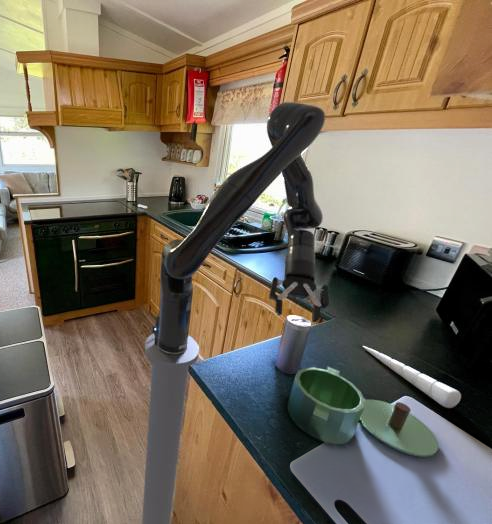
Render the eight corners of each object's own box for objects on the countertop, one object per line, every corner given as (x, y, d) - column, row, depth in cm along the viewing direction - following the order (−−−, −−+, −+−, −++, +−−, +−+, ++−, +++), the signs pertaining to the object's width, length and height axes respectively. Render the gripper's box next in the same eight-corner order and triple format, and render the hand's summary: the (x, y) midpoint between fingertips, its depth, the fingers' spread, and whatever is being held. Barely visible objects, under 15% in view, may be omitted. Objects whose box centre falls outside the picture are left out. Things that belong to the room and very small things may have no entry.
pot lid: (352, 430, 61) (361, 408, 59) (358, 394, 71) (365, 374, 69) (440, 473, 53) (453, 450, 51) (432, 425, 63) (443, 404, 61)
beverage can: (271, 359, 82) (282, 314, 77) (292, 361, 82) (304, 315, 77) (280, 374, 77) (292, 326, 72) (302, 375, 77) (316, 327, 72)
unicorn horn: (372, 346, 90) (377, 333, 89) (458, 409, 68) (467, 393, 67) (359, 347, 90) (363, 334, 88) (441, 410, 68) (449, 394, 66)
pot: (277, 428, 61) (285, 396, 58) (297, 382, 75) (305, 354, 72) (347, 467, 54) (361, 434, 51) (356, 408, 67) (367, 379, 64)
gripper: (275, 254, 82) (270, 308, 76) (332, 262, 78) (332, 319, 71) (270, 266, 89) (265, 316, 82) (323, 273, 84) (322, 327, 78)
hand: (296, 318), depth 77 cm, fingers open, 8 cm apart
